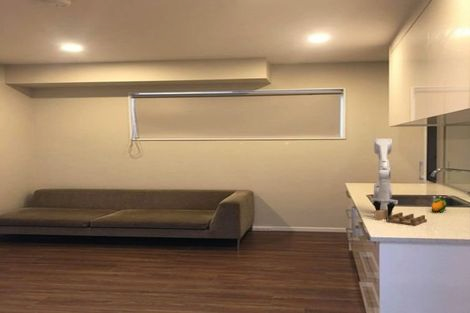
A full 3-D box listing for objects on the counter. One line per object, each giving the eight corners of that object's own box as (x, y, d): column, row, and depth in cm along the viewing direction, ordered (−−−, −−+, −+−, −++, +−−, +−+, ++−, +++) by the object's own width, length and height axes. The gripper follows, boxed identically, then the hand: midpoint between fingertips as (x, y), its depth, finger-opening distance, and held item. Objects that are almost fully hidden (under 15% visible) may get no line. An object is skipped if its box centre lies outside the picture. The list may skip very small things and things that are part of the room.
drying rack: (399, 217, 240) (399, 212, 240) (426, 221, 229) (426, 215, 229) (386, 222, 228) (386, 216, 228) (414, 226, 218) (414, 219, 218)
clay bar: (386, 216, 245) (387, 207, 245) (392, 217, 243) (392, 208, 242) (375, 220, 235) (375, 211, 235) (380, 220, 233) (380, 211, 232)
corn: (447, 197, 266) (441, 201, 249) (448, 209, 266) (442, 214, 249) (434, 197, 270) (427, 201, 254) (435, 209, 270) (428, 214, 254)
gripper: (368, 190, 240) (368, 215, 241) (393, 193, 230) (393, 218, 231) (374, 189, 245) (374, 213, 246) (399, 191, 235) (399, 216, 236)
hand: (383, 215), depth 239 cm, fingers open, 6 cm apart
